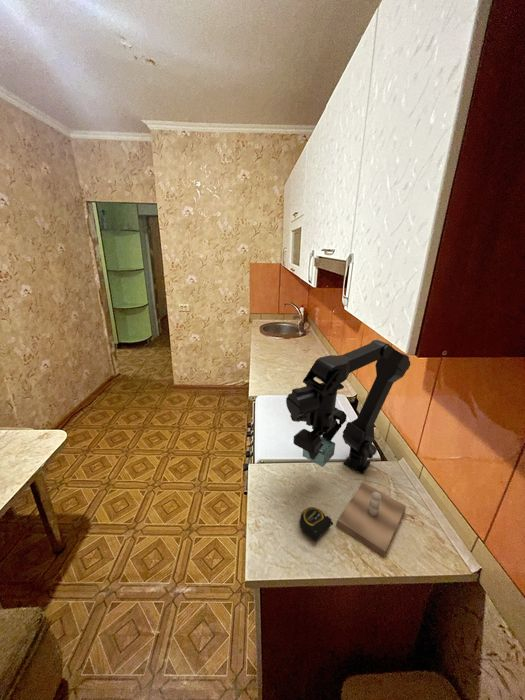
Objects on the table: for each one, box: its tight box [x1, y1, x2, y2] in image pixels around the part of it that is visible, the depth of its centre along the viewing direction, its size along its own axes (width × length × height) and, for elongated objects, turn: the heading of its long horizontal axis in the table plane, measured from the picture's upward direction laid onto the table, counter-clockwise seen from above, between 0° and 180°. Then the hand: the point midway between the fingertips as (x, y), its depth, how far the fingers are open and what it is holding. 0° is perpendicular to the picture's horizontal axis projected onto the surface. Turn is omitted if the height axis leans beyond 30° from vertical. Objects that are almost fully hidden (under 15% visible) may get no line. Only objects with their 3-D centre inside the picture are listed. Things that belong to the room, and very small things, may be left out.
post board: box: [335, 481, 407, 558], centre depth 76 cm, size 16×12×9 cm
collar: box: [302, 436, 336, 468], centre depth 82 cm, size 6×6×4 cm
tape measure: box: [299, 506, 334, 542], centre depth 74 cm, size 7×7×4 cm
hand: (318, 452), depth 83 cm, fingers closed on collar, 6 cm apart
